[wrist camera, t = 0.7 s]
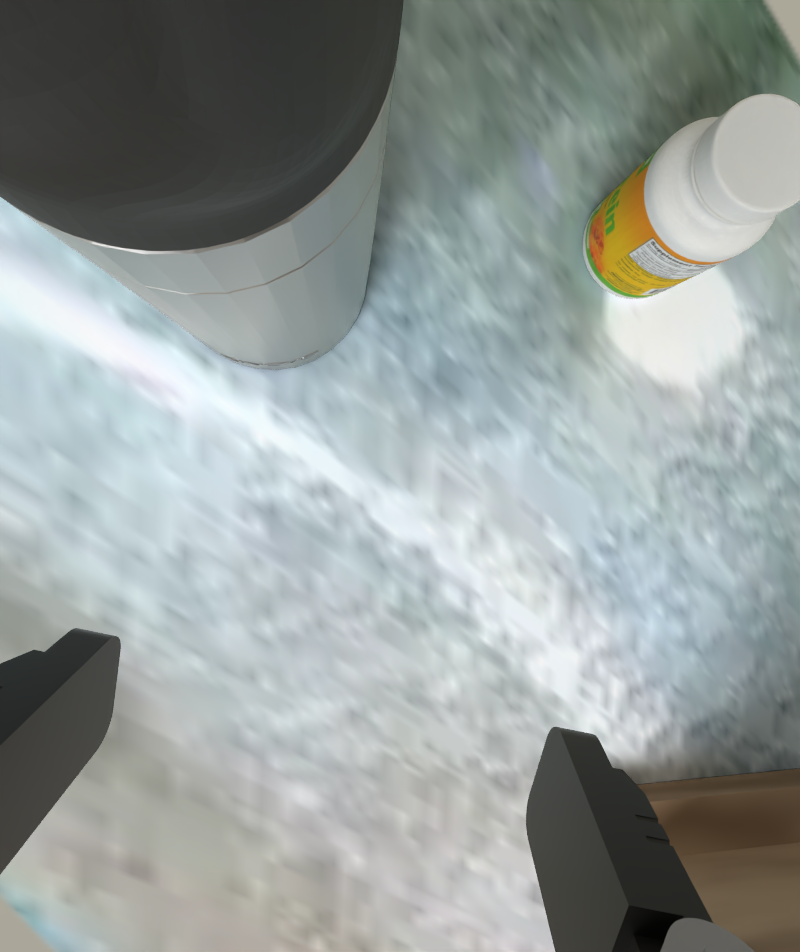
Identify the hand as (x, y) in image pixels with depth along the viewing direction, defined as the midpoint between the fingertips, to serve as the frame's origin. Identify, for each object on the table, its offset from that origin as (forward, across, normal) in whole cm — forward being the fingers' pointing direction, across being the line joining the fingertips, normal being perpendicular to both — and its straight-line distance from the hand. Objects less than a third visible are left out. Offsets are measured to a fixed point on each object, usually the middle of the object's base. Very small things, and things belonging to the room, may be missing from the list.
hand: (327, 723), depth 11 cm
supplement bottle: (+22, -10, -14) cm, 28 cm away
